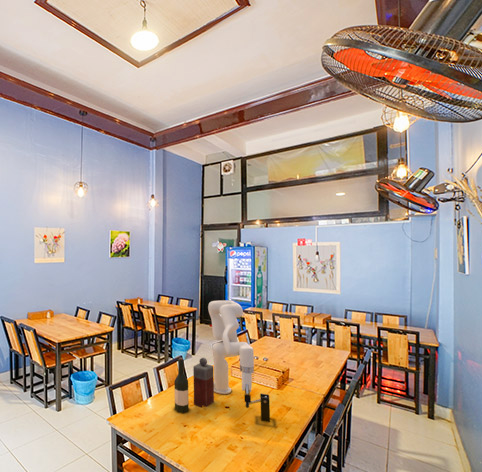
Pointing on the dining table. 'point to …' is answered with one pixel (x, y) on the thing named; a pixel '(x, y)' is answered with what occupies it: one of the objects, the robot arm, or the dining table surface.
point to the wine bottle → (181, 389)
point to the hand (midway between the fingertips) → (247, 401)
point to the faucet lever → (253, 402)
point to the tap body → (265, 408)
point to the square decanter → (203, 384)
